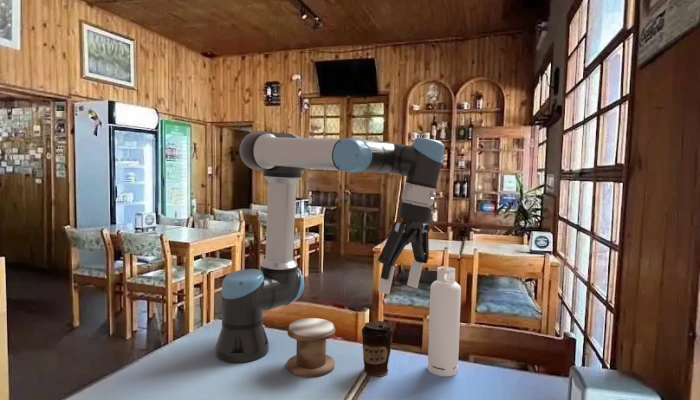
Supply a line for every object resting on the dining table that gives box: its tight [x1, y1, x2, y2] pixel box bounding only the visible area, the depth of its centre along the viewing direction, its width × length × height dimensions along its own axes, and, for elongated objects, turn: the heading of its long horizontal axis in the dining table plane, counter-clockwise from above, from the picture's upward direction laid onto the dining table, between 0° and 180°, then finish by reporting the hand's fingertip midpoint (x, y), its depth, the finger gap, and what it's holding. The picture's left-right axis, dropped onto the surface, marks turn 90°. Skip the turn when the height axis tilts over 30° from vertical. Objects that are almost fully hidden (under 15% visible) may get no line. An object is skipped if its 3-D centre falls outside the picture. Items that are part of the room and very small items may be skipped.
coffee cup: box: [361, 320, 394, 377], centre depth 115 cm, size 9×8×13 cm
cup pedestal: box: [286, 317, 336, 378], centre depth 118 cm, size 13×13×11 cm
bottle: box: [427, 266, 462, 377], centre depth 117 cm, size 8×8×28 cm
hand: (398, 289), depth 105 cm, fingers open, 13 cm apart
